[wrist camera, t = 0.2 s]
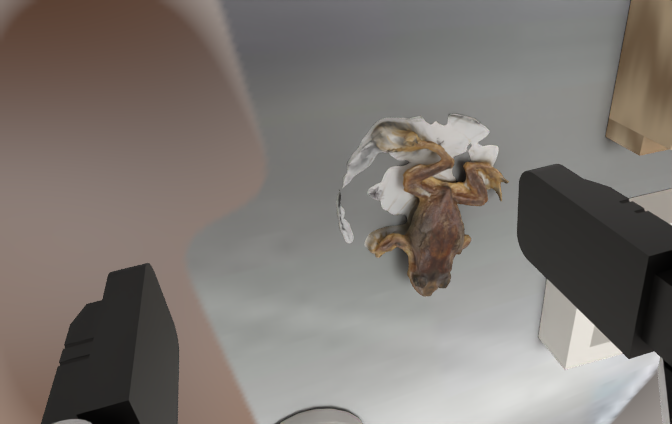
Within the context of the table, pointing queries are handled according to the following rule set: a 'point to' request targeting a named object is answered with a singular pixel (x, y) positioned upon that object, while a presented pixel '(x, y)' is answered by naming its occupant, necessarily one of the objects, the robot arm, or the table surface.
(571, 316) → the white square frame
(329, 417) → the cup
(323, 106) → the table surface
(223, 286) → the table surface
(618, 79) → the wooden square frame
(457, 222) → the frog figurine
